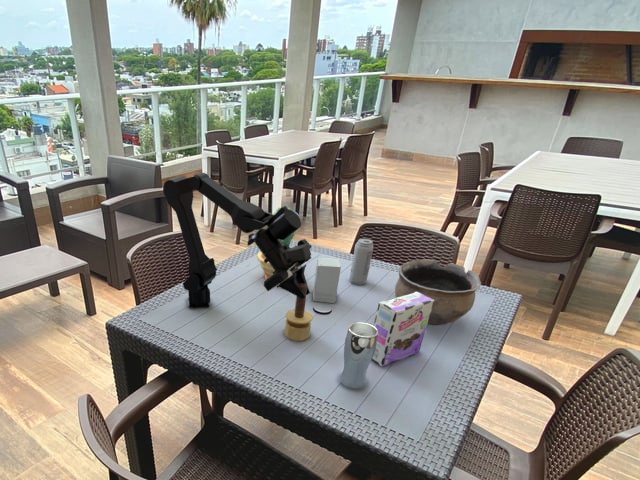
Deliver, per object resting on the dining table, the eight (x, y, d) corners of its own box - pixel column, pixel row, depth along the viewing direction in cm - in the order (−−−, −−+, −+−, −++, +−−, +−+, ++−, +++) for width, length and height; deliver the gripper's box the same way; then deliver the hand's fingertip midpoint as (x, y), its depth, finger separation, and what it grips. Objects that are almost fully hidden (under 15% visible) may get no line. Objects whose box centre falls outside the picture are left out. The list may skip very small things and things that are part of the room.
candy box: (381, 367, 112) (395, 311, 103) (365, 356, 116) (377, 301, 107) (419, 353, 117) (436, 299, 108) (402, 343, 122) (417, 290, 113)
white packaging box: (335, 303, 142) (341, 267, 135) (312, 301, 143) (316, 265, 136) (334, 293, 148) (340, 258, 141) (312, 291, 149) (317, 256, 142)
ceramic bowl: (475, 317, 134) (492, 272, 126) (450, 346, 120) (467, 297, 112) (405, 295, 147) (416, 253, 139) (376, 318, 133) (386, 273, 125)
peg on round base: (293, 328, 119) (297, 293, 113) (280, 315, 125) (283, 281, 119) (317, 323, 121) (322, 288, 115) (303, 310, 127) (307, 277, 121)
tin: (292, 342, 122) (293, 330, 120) (280, 330, 127) (281, 318, 125) (313, 338, 124) (315, 326, 122) (301, 326, 129) (302, 314, 127)
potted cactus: (300, 286, 153) (309, 215, 139) (257, 285, 153) (260, 214, 139) (295, 268, 166) (302, 202, 152) (254, 268, 166) (258, 201, 152)
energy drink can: (352, 276, 159) (360, 236, 151) (368, 280, 157) (377, 240, 148) (346, 282, 155) (353, 241, 147) (362, 286, 152) (370, 245, 144)
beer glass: (334, 373, 110) (343, 322, 102) (361, 372, 110) (372, 321, 102) (343, 391, 104) (353, 338, 96) (371, 389, 104) (384, 336, 96)
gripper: (277, 243, 105) (315, 295, 106) (308, 222, 118) (341, 269, 119) (248, 266, 113) (283, 315, 114) (280, 245, 126) (311, 288, 127)
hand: (306, 296), depth 118 cm, fingers closed on peg on round base, 2 cm apart
